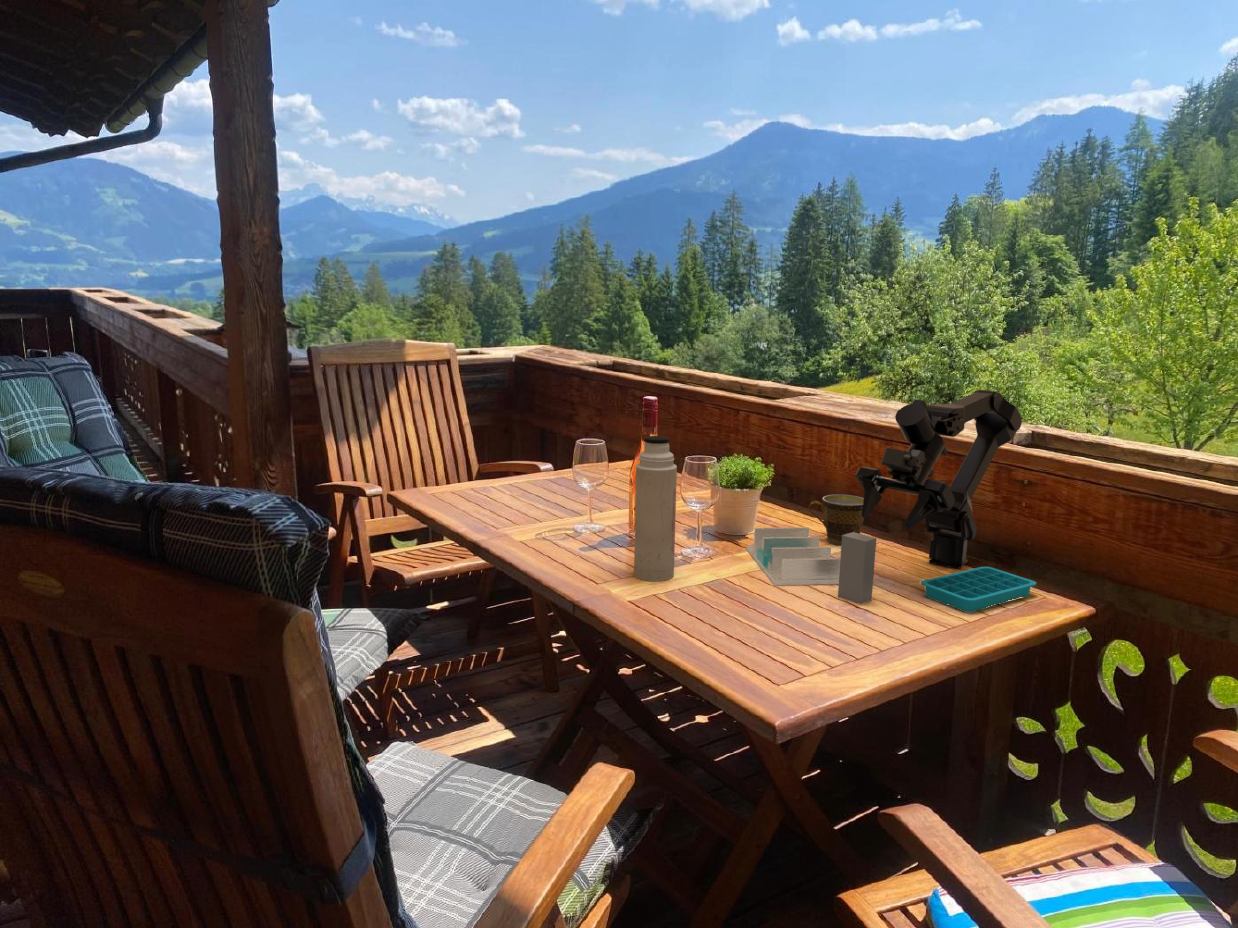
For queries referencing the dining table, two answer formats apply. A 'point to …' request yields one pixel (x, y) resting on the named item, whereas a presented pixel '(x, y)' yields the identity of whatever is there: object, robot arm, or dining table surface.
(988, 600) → the ice cube tray
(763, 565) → the tray
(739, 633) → the dining table surface
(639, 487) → the thermos bottle
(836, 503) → the ceramic cup
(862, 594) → the tall gray rectangular box
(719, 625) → the dining table surface
